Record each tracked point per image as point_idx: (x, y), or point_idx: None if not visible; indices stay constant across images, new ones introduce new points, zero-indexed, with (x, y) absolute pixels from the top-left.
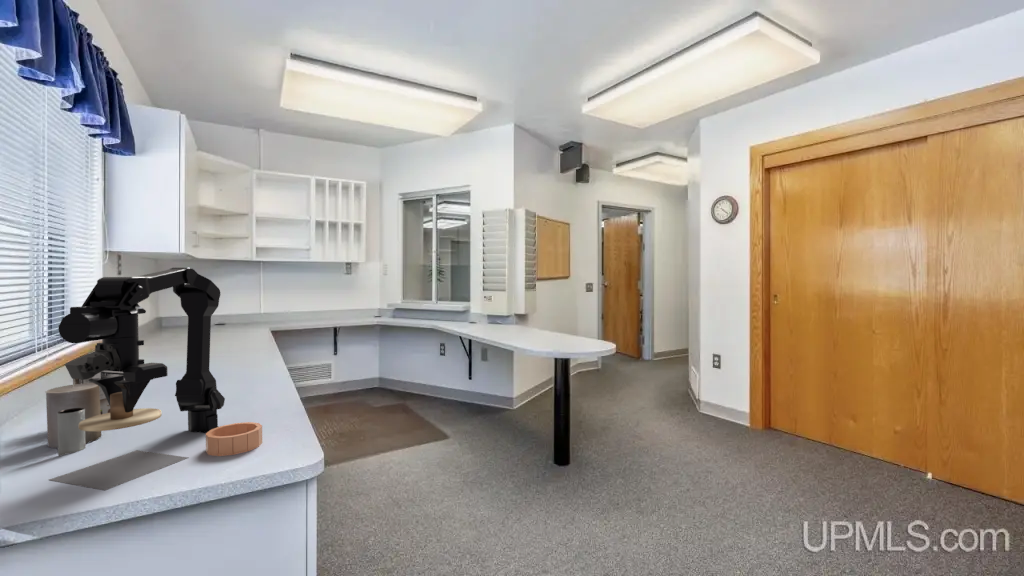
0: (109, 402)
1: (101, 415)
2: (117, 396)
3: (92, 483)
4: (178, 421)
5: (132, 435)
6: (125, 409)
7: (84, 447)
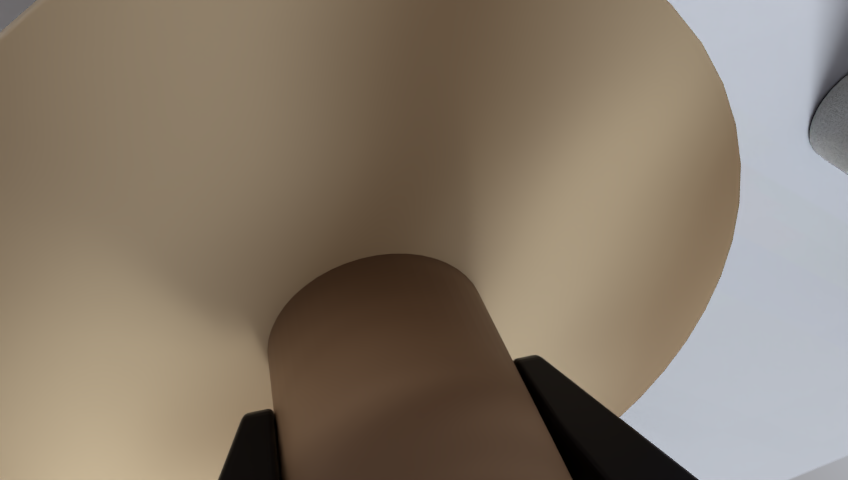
0: (607, 437)
1: (681, 270)
2: None
3: None
4: (701, 454)
5: (761, 326)
6: (255, 443)
7: (830, 158)
